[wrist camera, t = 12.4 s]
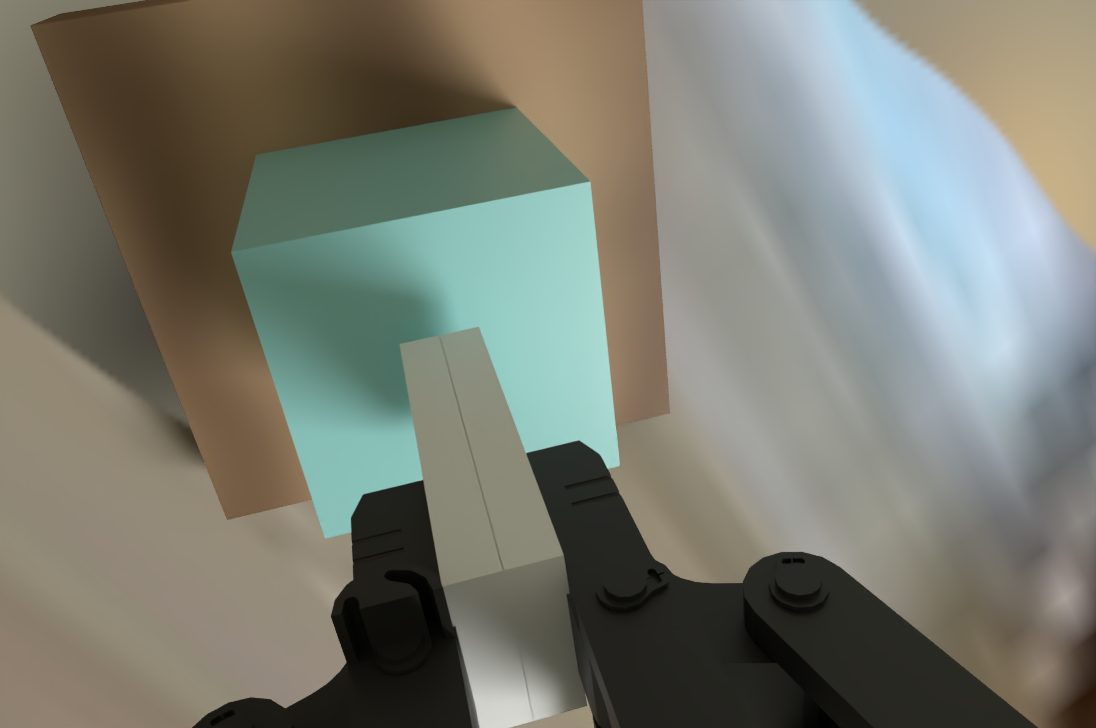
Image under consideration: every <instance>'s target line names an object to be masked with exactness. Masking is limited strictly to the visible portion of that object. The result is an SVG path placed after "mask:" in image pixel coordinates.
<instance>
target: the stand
mask: <svg viewBox="0 0 1096 728" xmlns="http://www.w3.org/2000/svg"><path fill="white" fill-rule="evenodd" d="M31 28H32V31H33V33H34V36H35V38H36V41H37V43H38V46H39V48H40V51H41V53H42V56H43V58H44V61H45V64H46V66H47V68H48V71H49V73H50V76H51V79H52V81H53V84H54V86H55V89H56V91H57V94H58V96H59V98H60V101H61V104H62V106H63V108H64V111H65V114H66V116H67V119H68V121H69V124H70V126H71V129H72V131H73V134H74V136H75V139H76V141H77V144H78V146H79V149H80V151H81V154H82V156H83V159H84V161H85V164H86V166H87V169H88V171H89V174H90V176H91V179H92V182H93V184H94V186H95V189H96V192H97V194H98V196H99V199H100V202H101V204H102V207H103V209H104V212H105V214H106V216H107V219H108V221H109V224H110V227H111V229H112V232H113V234H114V237H115V239H116V241H117V244H118V247H119V249H120V252H121V254H122V257H123V259H124V262H125V264H126V267H127V269H128V272H129V274H130V277H131V279H132V282H133V285H134V287H135V289H136V292H137V295H138V297H139V299H140V302H141V305H142V307H143V310H144V312H145V315H146V317H147V320H148V322H149V325H150V327H151V330H152V332H153V335H154V337H155V340H156V342H157V345H158V347H159V350H160V352H161V355H162V357H163V360H164V362H165V365H166V367H167V370H168V372H169V375H170V377H171V379H172V382H173V385H174V387H175V390H176V393H177V395H178V398H179V400H180V403H181V404H182V408H183V410H184V413H185V415H186V418H187V420H188V423H189V425H190V428H191V430H192V433H193V435H194V438H195V440H196V443H197V445H198V448H199V450H200V453H201V455H202V458H203V460H204V463H205V465H206V468H207V470H208V473H209V475H210V478H211V480H212V483H213V485H214V488H215V490H216V493H217V495H218V498H219V501H220V503H221V506H222V508H223V511H224V513H225V516H226V518H227V520H229V519H233V518H237V517H241V516H245V515H250V514H254V513H258V512H262V511H266V510H270V509H274V508H279V507H283V506H287V505H291V504H295V503H299V502H303V501H308V500H312V497H311V494H310V491H309V488H308V485H307V482H306V479H305V476H304V473H303V470H302V467H301V464H300V461H299V457H298V454H297V451H296V448H295V445H294V442H293V439H292V436H291V433H290V430H289V427H288V424H287V421H286V418H285V415H284V412H283V409H282V406H281V403H280V400H279V397H278V394H277V391H276V388H275V384H274V381H273V378H272V375H271V372H270V369H269V366H268V363H267V360H266V357H265V354H264V351H263V348H262V345H261V342H260V339H259V336H258V333H257V330H256V327H255V324H254V321H253V318H252V315H251V311H250V308H249V305H248V302H247V299H246V296H245V293H244V290H243V287H242V284H241V281H240V278H239V275H238V272H237V269H236V266H235V263H234V260H233V257H232V254H231V251H232V247H233V243H234V239H235V235H236V231H237V227H238V223H239V220H240V216H241V212H242V208H243V204H244V200H245V196H246V192H247V189H248V185H249V181H250V177H251V173H252V169H253V165H254V161H255V158H256V155H257V154H263V153H268V152H274V151H279V150H285V149H290V148H296V147H301V146H307V145H312V144H318V143H323V142H329V141H334V140H340V139H345V138H351V137H356V136H362V135H367V134H373V133H378V132H384V131H389V130H395V129H400V128H406V127H411V126H417V125H422V124H428V123H433V122H439V121H444V120H449V119H455V118H460V117H466V116H471V115H477V114H482V113H488V112H493V111H499V110H504V109H510V108H515V107H517V108H518V109H519V110H520V111H521V112H522V113H523V114H524V115H525V116H526V117H527V118H528V119H529V120H530V121H531V122H532V123H533V124H534V125H535V126H536V127H537V128H538V129H539V130H540V131H541V132H542V133H543V134H544V135H545V136H546V137H547V138H548V139H549V140H550V141H551V142H552V143H553V144H554V145H555V146H556V147H557V148H558V149H559V150H560V151H561V152H562V153H563V154H564V155H565V156H566V157H567V158H568V159H569V160H570V161H571V162H572V163H573V164H574V166H575V167H576V168H577V169H578V170H579V171H580V172H581V173H582V174H583V175H584V176H585V177H586V178H587V179H588V180H589V181H590V182H591V192H592V202H593V211H594V221H595V231H596V240H597V250H598V260H599V269H600V279H601V289H602V298H603V308H604V318H605V327H606V337H607V347H608V356H609V366H610V376H611V385H612V395H613V405H614V414H615V424H616V426H619V425H623V424H627V423H631V422H635V421H639V420H644V419H648V418H652V417H656V416H660V415H664V414H668V413H670V407H669V393H668V378H667V363H666V348H665V333H664V318H663V303H662V288H661V274H660V259H659V244H658V229H657V214H656V199H655V184H654V170H653V155H652V140H651V125H650V110H649V95H648V80H647V65H646V51H645V36H644V21H643V6H642V0H145V1H139V2H133V3H126V4H120V5H114V6H107V7H101V8H94V9H88V10H82V11H75V12H69V13H62V14H59V15H56V16H54V17H51V18H49V19H46V20H44V21H41V22H38V23H36V24H34V25H31Z"/></svg>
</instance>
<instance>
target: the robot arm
mask: <svg viewBox="0 0 1096 728" xmlns="http://www.w3.org/2000/svg"><path fill="white" fill-rule="evenodd" d="M400 350H401V356H402V362H403V367H404V373H405V379H406V384H407V390H408V396H409V402H410V407H411V413H412V419H413V424H414V430H415V436H416V442H417V447H418V453H419V459H420V464H421V470H422V476H423V480H421V481H416V482H412V483H408V484H404V485H400V486H396V487H391V488H387V489H383V490H379V491H375V492H371V493H366V494H363V495H362V497H361V499H360V501H359V503H358V505H357V507H356V509H355V511H354V513H353V514H352V516H351V534H352V544H353V545H352V556H353V564H354V565H353V578H354V580H353V581H351V582H350V583H348V584H347V585H346V586H345V588H344V589H343V590H342V592H341V593H340V594H339V596H338V597H337V598H336V599H335V602H334V606H333V610H332V614H331V618H332V621H333V624H334V627H335V630H336V633H337V636H338V638H339V641H340V644H341V647H342V650H343V653H344V656H345V659H346V661H347V663H346V664H345V665H344V667H343V668H342V670H341V671H340V672H339V673H338V674H337V675H336V676H335V677H334V678H333V679H332V680H331V681H330V682H329V683H328V684H326V685H325V686H323V687H322V688H320V689H319V690H317V691H316V692H314V693H313V694H311V695H309V696H307V697H306V698H304V699H302V700H300V701H298V702H296V703H295V704H293V705H291V706H289V707H287V708H286V709H285V708H284V707H282V706H280V705H279V704H277V703H275V702H274V701H272V700H271V699H262V698H252V697H250V698H246V699H242V700H238V701H234V702H229V703H227V704H225V705H223V706H222V707H220V708H218V709H216V710H214V711H212V712H210V713H208V714H207V715H206V716H204V717H203V718H202V719H201V720H200V721H199V722H198V723H197V724H196V725H195V726H193V727H192V728H510V727H514V726H517V725H521V724H524V723H528V722H531V721H535V720H538V719H542V718H545V717H549V716H552V715H556V714H559V713H563V712H566V711H570V710H573V709H577V708H581V707H584V706H587V702H586V696H587V699H588V702H589V705H590V708H591V711H592V714H593V721H594V728H1038V727H1036V726H1035V725H1034V724H1033V723H1031V722H1030V721H1029V720H1028V719H1027V718H1025V717H1024V716H1023V715H1022V714H1020V713H1019V712H1018V711H1017V710H1015V709H1014V708H1013V707H1012V706H1010V705H1009V704H1008V703H1007V702H1006V701H1004V700H1003V699H1002V698H1001V697H999V696H998V695H997V694H996V693H994V692H993V691H992V690H991V689H990V688H988V687H987V686H986V685H985V684H983V683H982V682H981V681H980V680H978V679H977V678H976V677H975V676H973V675H972V674H971V673H970V672H969V671H967V670H966V669H965V668H964V667H962V666H961V665H960V664H959V663H957V662H956V661H955V660H954V659H953V658H951V657H950V656H949V655H948V654H946V653H945V652H944V651H943V650H941V649H940V648H939V647H938V646H937V645H935V644H934V643H933V642H932V641H930V640H929V639H928V638H927V637H925V636H924V635H923V634H922V633H920V632H919V631H918V630H917V629H916V628H914V627H913V626H912V625H911V624H909V623H908V622H907V621H906V620H904V619H903V618H902V617H901V616H900V615H898V614H897V613H896V612H895V611H893V610H892V609H891V608H890V607H888V606H887V605H886V604H885V603H884V602H882V601H881V600H880V599H879V598H877V597H876V596H875V595H874V594H872V593H871V592H870V591H869V590H867V589H866V588H865V587H864V586H863V585H861V584H860V583H859V582H858V581H856V580H855V579H854V578H853V577H851V576H850V575H849V574H848V573H847V572H845V571H844V570H843V569H842V568H840V567H839V566H837V565H835V564H834V563H832V562H830V561H828V560H827V559H825V558H823V557H820V556H816V555H812V554H808V553H804V552H780V553H777V554H774V555H770V556H767V557H764V558H762V559H761V560H759V561H758V562H757V563H755V564H754V565H753V566H751V567H750V568H749V570H748V572H747V574H746V576H745V578H744V580H743V583H701V582H694V581H690V580H686V579H682V578H680V577H678V576H675V575H673V574H672V572H671V571H670V570H669V569H668V568H667V567H666V566H665V565H664V564H662V563H660V562H658V561H656V560H655V559H654V558H653V557H652V555H651V554H650V552H649V550H648V548H647V546H646V544H645V542H644V540H643V538H642V536H641V534H640V532H639V530H638V528H637V526H636V524H635V522H634V520H633V518H632V516H631V514H630V512H629V510H628V508H627V506H626V504H625V502H624V500H623V498H622V496H621V495H620V494H619V490H618V488H617V486H616V484H615V483H614V481H613V479H611V475H610V473H609V471H608V469H607V467H606V465H605V463H604V461H603V459H602V457H601V455H600V454H599V453H597V452H596V451H594V450H593V449H591V448H590V447H588V446H587V445H585V444H584V443H583V442H581V441H580V440H578V441H574V442H570V443H566V444H561V445H557V446H553V447H549V448H545V449H541V450H536V451H532V452H528V453H526V452H525V449H524V447H523V444H522V441H521V439H520V436H519V433H518V431H517V428H516V425H515V422H514V420H513V417H512V414H511V412H510V409H509V406H508V404H507V401H506V398H505V396H504V393H503V390H502V388H501V385H500V382H499V379H498V377H497V374H496V371H495V369H494V366H493V363H492V361H491V358H490V355H489V353H488V350H487V347H486V344H485V342H484V339H483V336H482V334H481V331H480V328H479V327H475V328H471V329H466V330H462V331H457V332H452V333H448V334H443V335H438V336H434V337H429V338H425V339H420V340H415V341H411V342H406V343H402V344H400ZM585 693H586V696H585Z"/></svg>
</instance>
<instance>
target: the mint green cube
mask: <svg viewBox="0 0 1096 728" xmlns="http://www.w3.org/2000/svg"><path fill="white" fill-rule="evenodd" d="M231 254H232V257H233V260H234V263H235V266H236V269H237V272H238V275H239V278H240V281H241V284H242V287H243V290H244V293H245V296H246V299H247V302H248V305H249V308H250V311H251V315H252V318H253V321H254V324H255V327H256V330H257V333H258V336H259V339H260V342H261V345H262V348H263V351H264V354H265V357H266V360H267V363H268V366H269V369H270V372H271V375H272V378H273V381H274V384H275V388H276V391H277V394H278V397H279V400H280V403H281V406H282V409H283V412H284V415H285V418H286V421H287V424H288V427H289V430H290V433H291V436H292V439H293V442H294V445H295V448H296V451H297V454H298V457H299V461H300V464H301V467H302V470H303V473H304V476H305V479H306V482H307V485H308V488H309V491H310V494H311V497H312V500H313V503H314V506H315V509H316V512H317V515H318V518H319V521H320V524H321V527H322V530H323V534H324V537H325V539H326V538H330V537H334V536H338V535H342V534H346V533H350V532H351V516H352V514H353V513H354V511H355V509H356V507H357V505H358V503H359V501H360V499H361V497H362V495H363V494H366V493H371V492H375V491H379V490H383V489H387V488H391V487H396V486H400V485H404V484H408V483H412V482H416V481H421V480H423V476H422V470H421V464H420V459H419V453H418V447H417V442H416V436H415V430H414V424H413V419H412V413H411V407H410V402H409V396H408V390H407V384H406V379H405V373H404V367H403V362H402V356H401V350H400V344H402V343H406V342H411V341H415V340H420V339H425V338H429V337H434V336H438V335H443V334H448V333H452V332H457V331H462V330H466V329H471V328H475V327H479V328H480V331H481V334H482V336H483V339H484V342H485V344H486V347H487V350H488V353H489V355H490V358H491V361H492V363H493V366H494V369H495V371H496V374H497V377H498V379H499V382H500V385H501V388H502V390H503V393H504V396H505V398H506V401H507V404H508V406H509V409H510V412H511V414H512V417H513V420H514V422H515V425H516V428H517V431H518V433H519V436H520V439H521V441H522V444H523V447H524V449H525V452H526V453H528V452H532V451H536V450H541V449H545V448H549V447H553V446H557V445H561V444H566V443H570V442H574V441H578V440H580V441H581V442H583V443H584V444H585V445H587V446H588V447H590V448H591V449H593V450H594V451H596V452H597V453H599V454H600V455H601V457H602V459H603V461H604V463H605V465H606V467H607V469H609V468H613V467H617V466H620V462H619V453H618V443H617V434H616V424H615V414H614V405H613V395H612V385H611V376H610V366H609V356H608V347H607V337H606V327H605V318H604V308H603V298H602V289H601V279H600V269H599V260H598V250H597V240H596V231H595V221H594V211H593V202H592V192H591V182H590V181H589V180H588V179H587V178H586V177H585V176H584V175H583V174H582V173H581V172H580V171H579V170H578V169H577V168H576V167H575V166H574V164H573V163H572V162H571V161H570V160H569V159H568V158H567V157H566V156H565V155H564V154H563V153H562V152H561V151H560V150H559V149H558V148H557V147H556V146H555V145H554V144H553V143H552V142H551V141H550V140H549V139H548V138H547V137H546V136H545V135H544V134H543V133H542V132H541V131H540V130H539V129H538V128H537V127H536V126H535V125H534V124H533V123H532V122H531V121H530V120H529V119H528V118H527V117H526V116H525V115H524V114H523V113H522V112H521V111H520V110H519V109H518V108H517V107H515V108H510V109H504V110H499V111H493V112H488V113H482V114H477V115H471V116H466V117H460V118H455V119H449V120H444V121H439V122H433V123H428V124H422V125H417V126H411V127H406V128H400V129H395V130H389V131H384V132H378V133H373V134H367V135H362V136H356V137H351V138H345V139H340V140H334V141H329V142H323V143H318V144H312V145H307V146H301V147H296V148H290V149H285V150H279V151H274V152H268V153H263V154H257V155H256V158H255V161H254V165H253V169H252V173H251V177H250V181H249V185H248V189H247V192H246V196H245V200H244V204H243V208H242V212H241V216H240V220H239V223H238V227H237V231H236V235H235V239H234V243H233V247H232V251H231Z"/></svg>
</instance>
